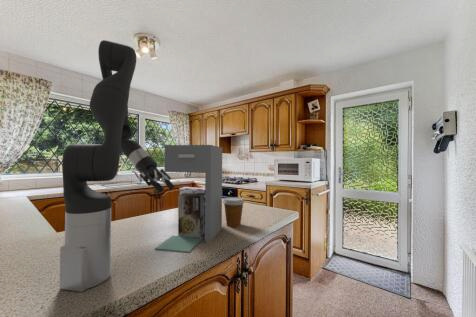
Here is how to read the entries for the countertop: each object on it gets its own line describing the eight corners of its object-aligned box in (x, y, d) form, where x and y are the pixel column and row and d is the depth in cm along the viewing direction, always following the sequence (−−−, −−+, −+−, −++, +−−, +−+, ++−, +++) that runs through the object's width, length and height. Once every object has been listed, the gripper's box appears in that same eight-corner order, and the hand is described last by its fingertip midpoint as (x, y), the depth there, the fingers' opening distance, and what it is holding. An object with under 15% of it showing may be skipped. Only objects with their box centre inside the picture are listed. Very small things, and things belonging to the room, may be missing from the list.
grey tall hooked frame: (209, 243, 74) (210, 144, 74) (162, 240, 77) (163, 144, 78) (221, 228, 91) (222, 147, 91) (182, 225, 94) (183, 147, 94)
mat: (189, 252, 67) (189, 251, 67) (154, 249, 69) (154, 248, 69) (202, 238, 79) (202, 237, 79) (172, 236, 81) (172, 235, 81)
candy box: (177, 223, 99) (178, 187, 99) (184, 219, 104) (184, 186, 104) (204, 225, 95) (205, 189, 95) (210, 222, 100) (210, 187, 100)
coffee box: (204, 231, 87) (205, 192, 87) (200, 237, 80) (200, 195, 80) (183, 231, 87) (183, 192, 88) (177, 236, 81) (177, 194, 81)
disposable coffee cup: (219, 227, 93) (220, 199, 93) (227, 221, 102) (227, 196, 102) (240, 229, 90) (240, 201, 90) (246, 223, 99) (246, 197, 99)
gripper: (137, 154, 81) (165, 185, 78) (158, 155, 95) (181, 181, 92) (125, 168, 81) (151, 199, 79) (147, 167, 95) (170, 193, 93)
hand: (168, 190), depth 86 cm, fingers open, 8 cm apart
